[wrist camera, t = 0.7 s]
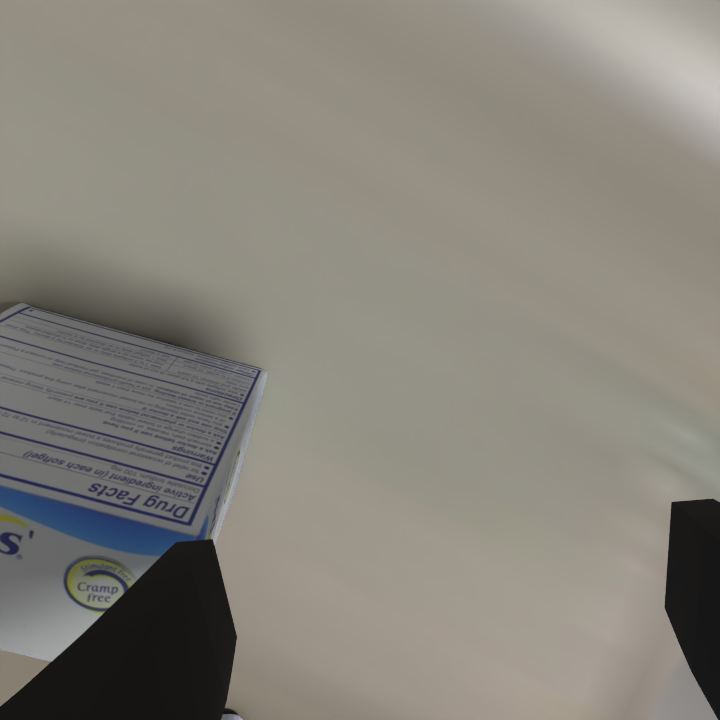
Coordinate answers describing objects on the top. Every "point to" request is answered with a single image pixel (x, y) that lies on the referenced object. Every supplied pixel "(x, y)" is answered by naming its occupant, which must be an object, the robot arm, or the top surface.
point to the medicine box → (105, 465)
